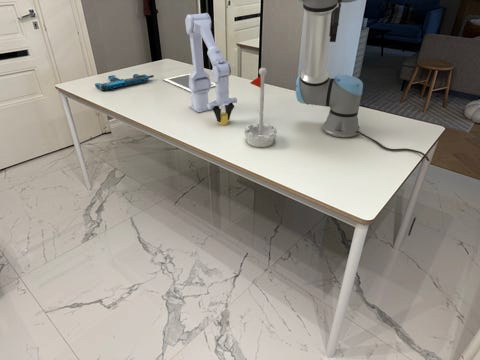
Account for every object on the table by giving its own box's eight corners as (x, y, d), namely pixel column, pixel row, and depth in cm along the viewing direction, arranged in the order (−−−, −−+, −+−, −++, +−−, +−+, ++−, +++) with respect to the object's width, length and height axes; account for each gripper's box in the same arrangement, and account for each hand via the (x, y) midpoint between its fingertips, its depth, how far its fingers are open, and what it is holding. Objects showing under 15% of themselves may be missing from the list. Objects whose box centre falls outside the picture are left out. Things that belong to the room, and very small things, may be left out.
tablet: (162, 79, 213) (162, 79, 213) (189, 73, 224) (189, 73, 224) (191, 92, 193) (191, 91, 192) (219, 85, 204) (219, 84, 203)
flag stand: (267, 132, 148) (271, 61, 132) (281, 144, 138) (286, 70, 122) (240, 137, 144) (240, 65, 128) (252, 150, 134) (253, 74, 118)
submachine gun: (139, 68, 225) (158, 74, 208) (140, 74, 226) (158, 80, 210) (87, 78, 206) (103, 86, 189) (89, 84, 208) (104, 92, 191)
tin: (217, 124, 156) (217, 115, 153) (220, 120, 159) (219, 111, 157) (226, 125, 155) (226, 116, 152) (229, 121, 158) (228, 112, 156)
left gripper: (212, 97, 143) (213, 126, 150) (240, 90, 149) (241, 119, 157) (204, 92, 148) (206, 121, 155) (232, 86, 154) (232, 114, 162)
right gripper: (328, -13, 165) (322, 34, 177) (331, -9, 145) (325, 44, 156) (344, -13, 164) (337, 34, 176) (349, -9, 144) (341, 44, 155)
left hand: (223, 120), depth 156 cm, fingers closed on tin, 4 cm apart
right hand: (331, 39), depth 166 cm, fingers open, 13 cm apart
